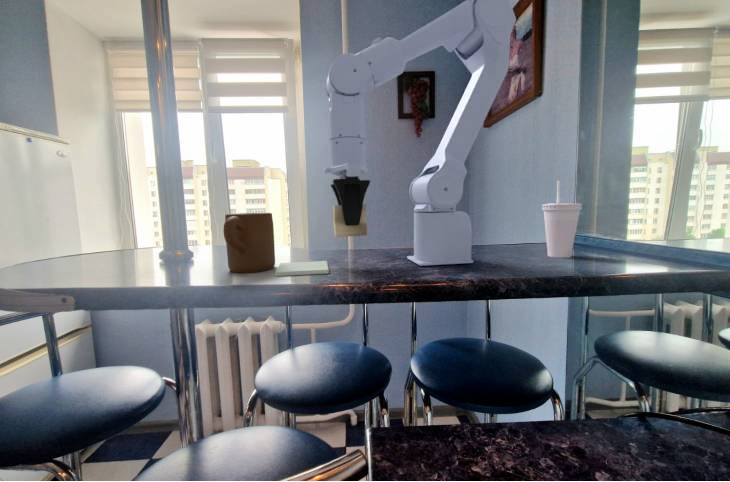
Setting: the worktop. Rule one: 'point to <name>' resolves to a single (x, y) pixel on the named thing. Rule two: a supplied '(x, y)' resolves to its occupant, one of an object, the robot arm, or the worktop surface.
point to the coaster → (302, 268)
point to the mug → (249, 242)
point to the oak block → (344, 230)
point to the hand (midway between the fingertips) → (350, 224)
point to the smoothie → (560, 226)
